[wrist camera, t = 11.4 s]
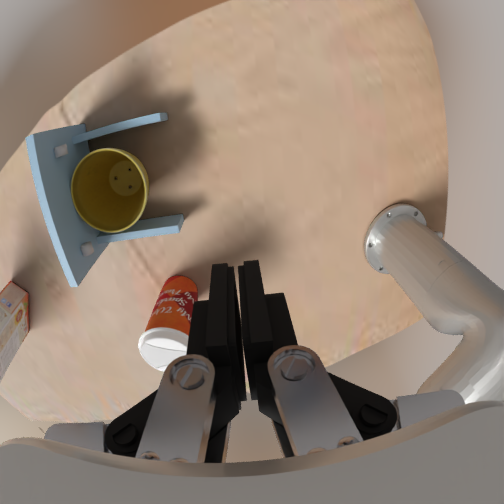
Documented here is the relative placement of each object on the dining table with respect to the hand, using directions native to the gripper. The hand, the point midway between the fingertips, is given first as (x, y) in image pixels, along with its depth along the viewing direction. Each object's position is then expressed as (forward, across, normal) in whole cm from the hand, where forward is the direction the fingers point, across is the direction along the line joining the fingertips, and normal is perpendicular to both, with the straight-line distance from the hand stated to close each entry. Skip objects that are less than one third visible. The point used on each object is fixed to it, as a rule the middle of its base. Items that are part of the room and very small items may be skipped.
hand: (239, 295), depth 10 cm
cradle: (+27, +14, 0) cm, 30 cm away
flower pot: (+27, +15, 0) cm, 31 cm away
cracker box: (+27, +50, +21) cm, 61 cm away
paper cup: (+27, +10, +18) cm, 35 cm away
